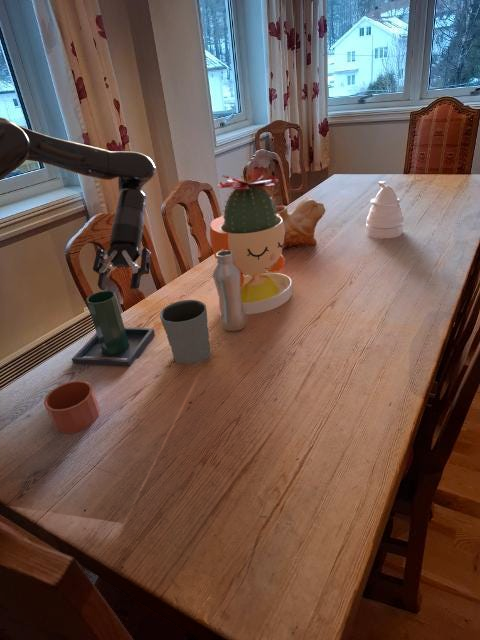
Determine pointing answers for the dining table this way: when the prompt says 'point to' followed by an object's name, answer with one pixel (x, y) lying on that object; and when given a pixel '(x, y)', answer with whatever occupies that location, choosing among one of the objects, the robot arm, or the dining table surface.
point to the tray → (137, 344)
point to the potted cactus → (253, 241)
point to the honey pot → (385, 214)
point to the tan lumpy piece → (301, 222)
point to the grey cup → (187, 331)
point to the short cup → (72, 406)
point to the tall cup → (108, 322)
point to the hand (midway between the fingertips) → (117, 289)
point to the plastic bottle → (229, 292)
